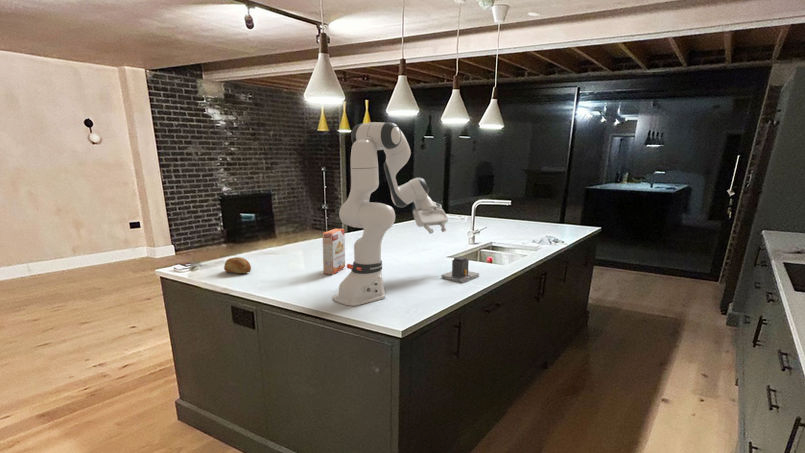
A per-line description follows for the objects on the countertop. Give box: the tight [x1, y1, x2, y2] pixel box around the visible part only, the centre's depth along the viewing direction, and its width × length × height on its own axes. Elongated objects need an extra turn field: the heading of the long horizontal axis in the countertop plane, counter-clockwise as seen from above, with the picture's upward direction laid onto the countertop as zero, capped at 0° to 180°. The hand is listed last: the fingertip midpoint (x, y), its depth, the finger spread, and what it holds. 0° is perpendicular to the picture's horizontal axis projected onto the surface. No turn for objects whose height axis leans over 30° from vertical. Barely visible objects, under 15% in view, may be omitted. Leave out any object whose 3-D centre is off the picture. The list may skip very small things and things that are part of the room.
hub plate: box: [440, 270, 480, 284], centre depth 189 cm, size 14×12×6 cm
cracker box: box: [322, 228, 346, 275], centre depth 200 cm, size 14×6×21 cm, turn 163°
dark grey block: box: [451, 255, 469, 277], centre depth 188 cm, size 6×6×8 cm
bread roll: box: [223, 256, 252, 274], centre depth 199 cm, size 10×15×8 cm, turn 67°
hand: (438, 232), depth 193 cm, fingers open, 8 cm apart
